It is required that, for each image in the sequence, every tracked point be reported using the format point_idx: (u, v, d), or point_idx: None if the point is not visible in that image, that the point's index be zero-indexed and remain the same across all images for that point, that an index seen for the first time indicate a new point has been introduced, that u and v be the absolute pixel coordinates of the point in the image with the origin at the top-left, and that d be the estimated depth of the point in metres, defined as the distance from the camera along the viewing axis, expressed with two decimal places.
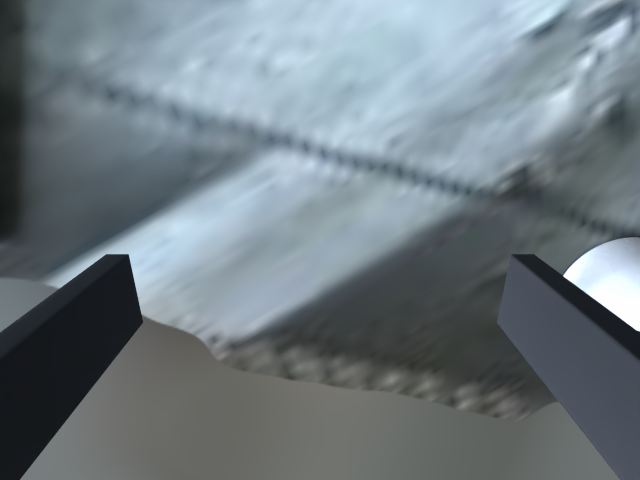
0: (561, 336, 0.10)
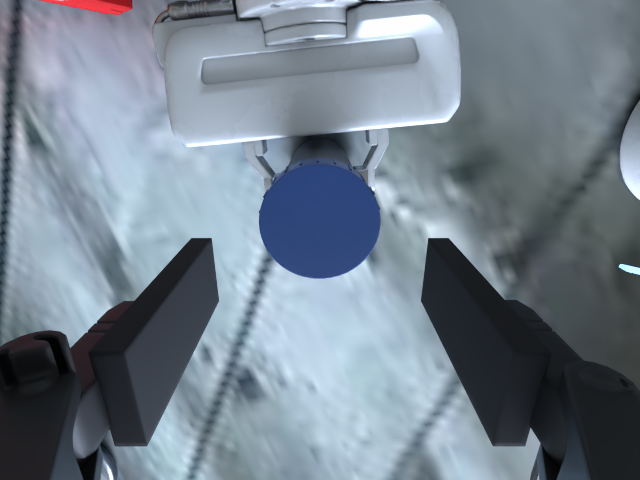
0: (453, 306, 0.11)
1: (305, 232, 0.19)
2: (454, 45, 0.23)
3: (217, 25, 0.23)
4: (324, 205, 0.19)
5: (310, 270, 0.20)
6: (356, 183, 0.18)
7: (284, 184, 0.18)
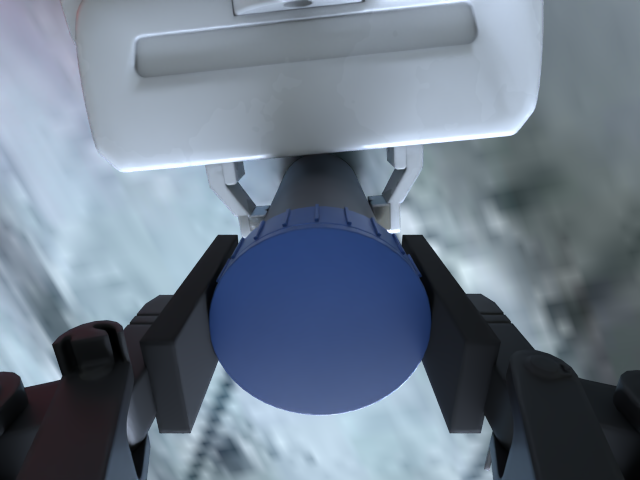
0: None
1: (294, 344, 0.11)
2: (537, 13, 0.14)
3: None
4: (329, 299, 0.10)
5: (303, 402, 0.11)
6: (390, 261, 0.10)
7: (253, 263, 0.10)
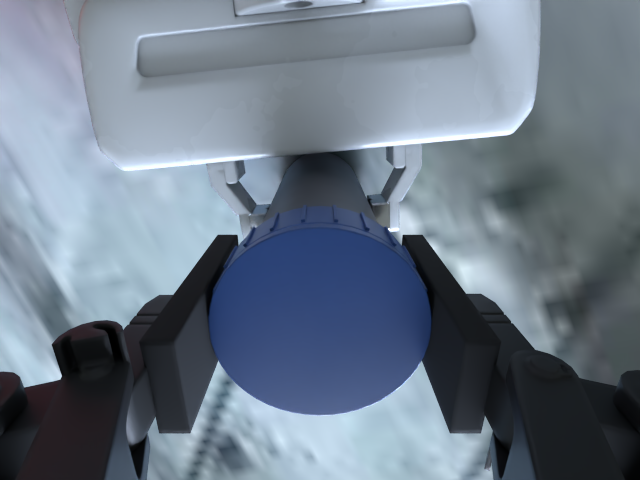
0: None
1: (331, 354, 0.11)
2: (534, 14, 0.14)
3: None
4: (283, 321, 0.10)
5: (408, 354, 0.11)
6: (243, 267, 0.10)
7: (243, 375, 0.11)
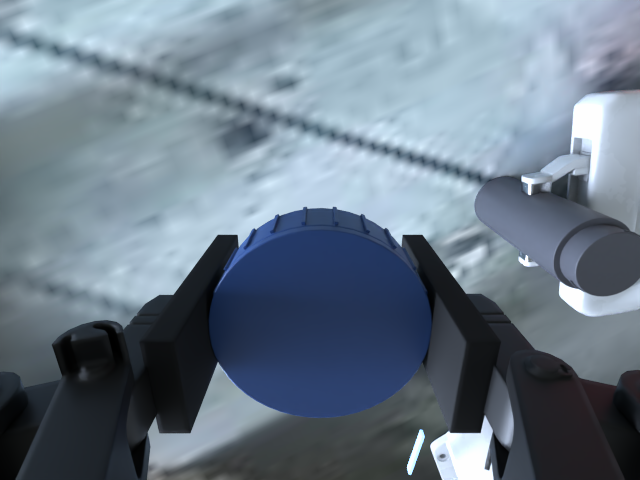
0: None
1: (331, 357, 0.11)
2: (635, 308, 0.33)
3: None
4: (283, 324, 0.10)
5: (408, 356, 0.11)
6: (243, 269, 0.10)
7: (243, 377, 0.11)
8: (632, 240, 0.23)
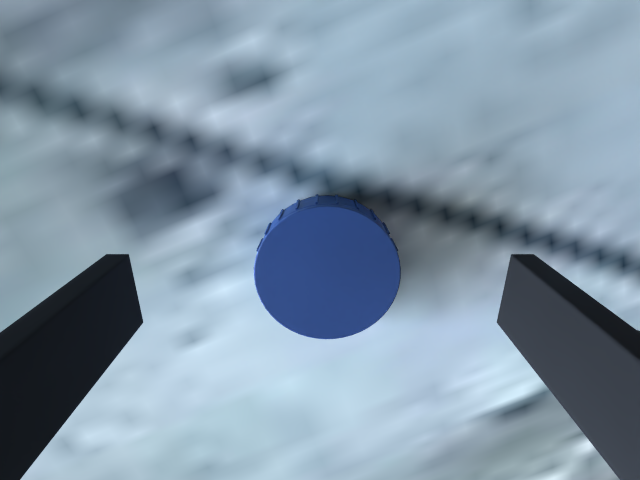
0: (561, 336, 0.10)
1: (334, 293, 0.16)
2: None
3: None
4: (303, 269, 0.16)
5: (385, 293, 0.16)
6: (278, 232, 0.15)
7: (275, 308, 0.16)
8: None
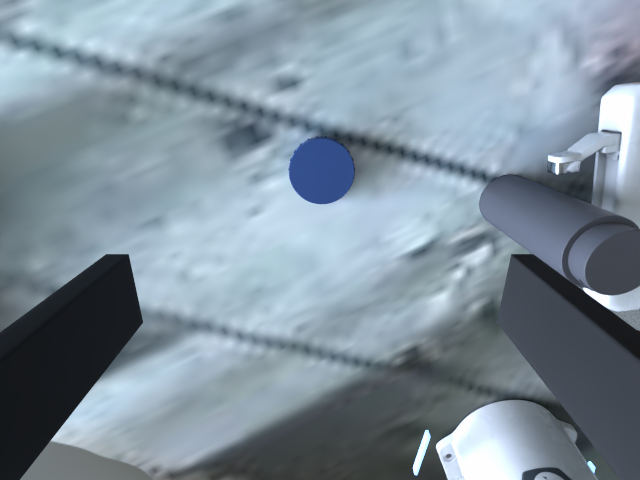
0: (561, 336, 0.10)
1: (325, 180, 0.36)
2: None
3: None
4: (310, 168, 0.35)
5: (348, 180, 0.35)
6: (300, 151, 0.35)
7: (298, 188, 0.36)
8: None
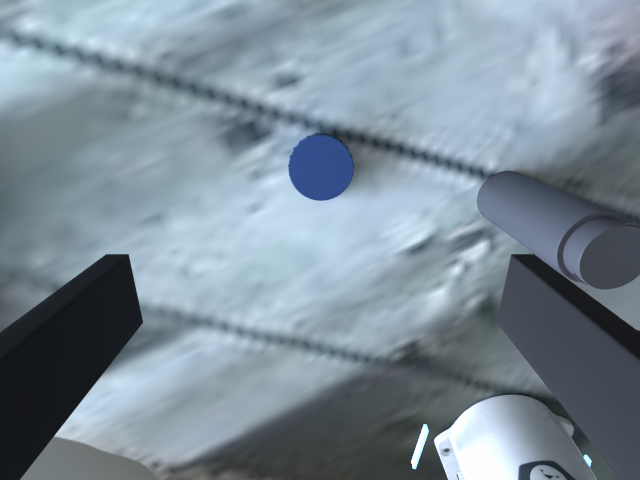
0: (561, 336, 0.10)
1: (324, 177, 0.36)
2: None
3: None
4: (310, 165, 0.35)
5: (347, 176, 0.36)
6: (299, 147, 0.35)
7: (297, 184, 0.36)
8: (635, 233, 0.23)
